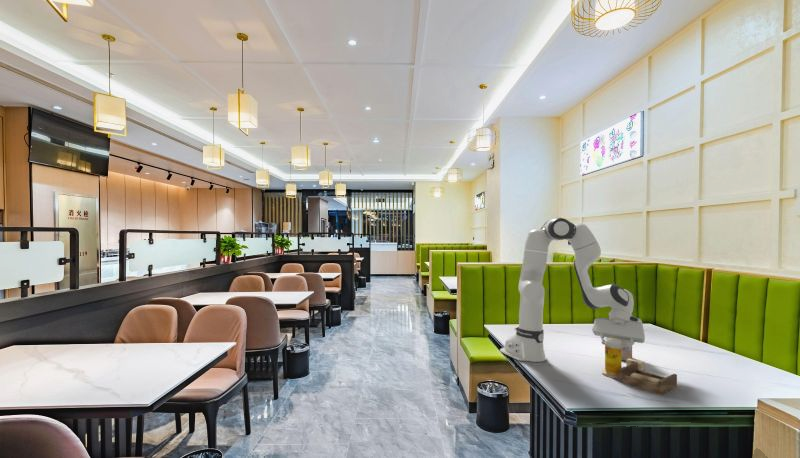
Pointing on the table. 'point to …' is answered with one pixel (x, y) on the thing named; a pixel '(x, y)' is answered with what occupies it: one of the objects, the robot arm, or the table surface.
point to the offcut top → (632, 361)
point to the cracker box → (625, 350)
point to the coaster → (609, 375)
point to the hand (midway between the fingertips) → (615, 346)
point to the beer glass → (612, 356)
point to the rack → (663, 384)
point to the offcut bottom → (645, 378)
